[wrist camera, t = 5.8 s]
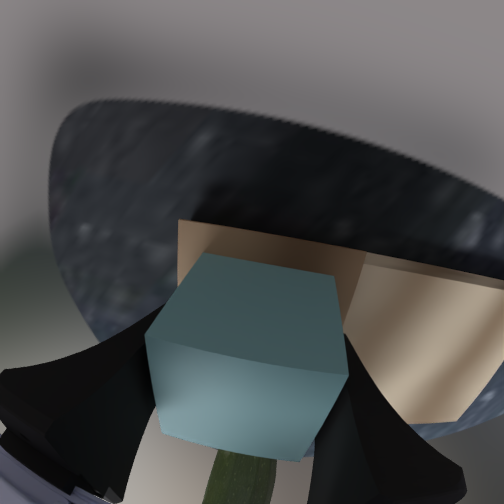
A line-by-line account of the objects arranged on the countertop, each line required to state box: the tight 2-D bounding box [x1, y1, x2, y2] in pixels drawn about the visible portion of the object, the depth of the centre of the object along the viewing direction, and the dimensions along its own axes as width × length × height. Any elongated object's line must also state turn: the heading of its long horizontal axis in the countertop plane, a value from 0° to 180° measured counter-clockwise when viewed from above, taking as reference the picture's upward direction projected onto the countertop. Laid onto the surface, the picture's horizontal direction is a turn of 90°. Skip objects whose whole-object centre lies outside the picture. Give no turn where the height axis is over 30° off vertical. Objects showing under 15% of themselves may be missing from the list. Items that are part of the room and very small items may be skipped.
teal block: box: [145, 252, 349, 462], centre depth 10 cm, size 5×5×5 cm
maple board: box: [178, 219, 504, 424], centre depth 13 cm, size 18×10×1 cm, turn 83°
